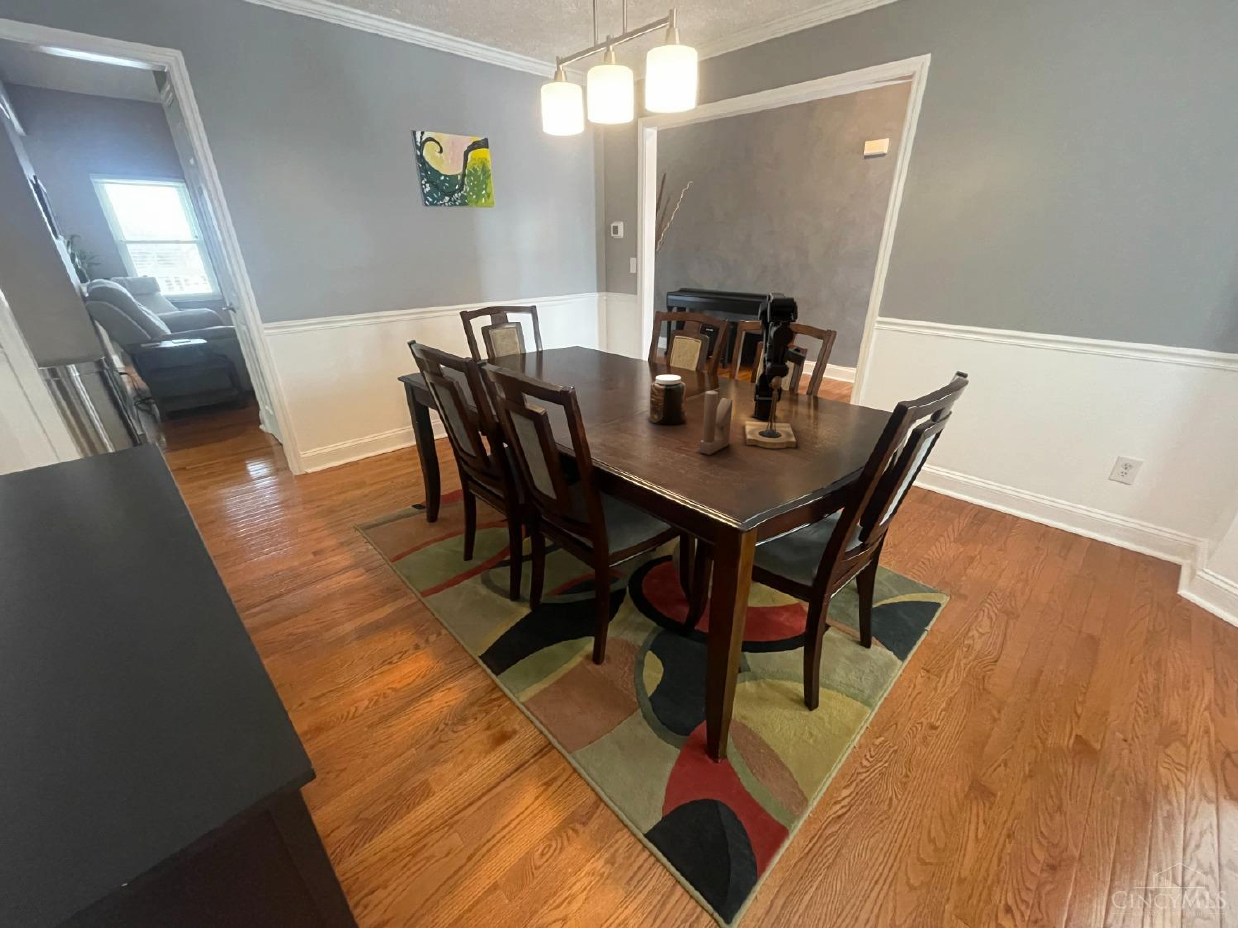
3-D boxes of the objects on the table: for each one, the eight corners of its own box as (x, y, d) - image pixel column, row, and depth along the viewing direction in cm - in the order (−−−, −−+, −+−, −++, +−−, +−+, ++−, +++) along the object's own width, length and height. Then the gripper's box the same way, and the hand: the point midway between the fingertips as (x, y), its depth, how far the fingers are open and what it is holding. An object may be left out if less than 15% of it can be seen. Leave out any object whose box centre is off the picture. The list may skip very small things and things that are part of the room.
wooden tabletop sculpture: (770, 444, 148) (778, 379, 140) (756, 440, 152) (764, 376, 143) (780, 439, 152) (789, 375, 144) (767, 435, 155) (774, 373, 147)
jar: (666, 427, 163) (667, 383, 157) (643, 419, 171) (643, 377, 165) (691, 420, 170) (693, 377, 163) (667, 412, 178) (668, 371, 172)
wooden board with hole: (744, 427, 163) (745, 421, 162) (788, 429, 160) (789, 423, 159) (747, 446, 147) (747, 440, 146) (795, 449, 144) (796, 443, 144)
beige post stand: (729, 445, 148) (734, 387, 141) (709, 455, 141) (713, 394, 134) (718, 442, 150) (722, 384, 143) (698, 452, 143) (702, 392, 136)
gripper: (810, 346, 139) (802, 400, 145) (801, 336, 156) (794, 384, 162) (769, 345, 141) (764, 398, 147) (764, 335, 158) (759, 383, 164)
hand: (771, 390), depth 155 cm, fingers open, 9 cm apart
